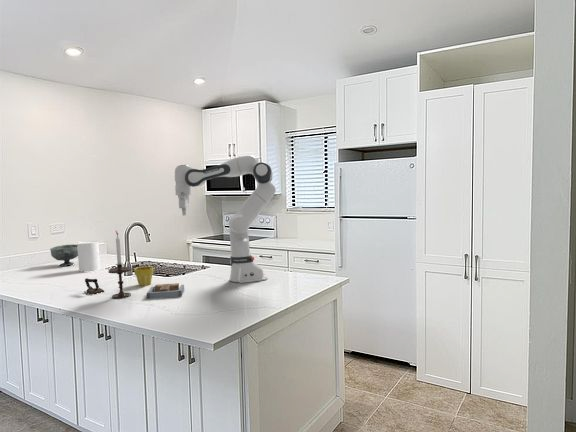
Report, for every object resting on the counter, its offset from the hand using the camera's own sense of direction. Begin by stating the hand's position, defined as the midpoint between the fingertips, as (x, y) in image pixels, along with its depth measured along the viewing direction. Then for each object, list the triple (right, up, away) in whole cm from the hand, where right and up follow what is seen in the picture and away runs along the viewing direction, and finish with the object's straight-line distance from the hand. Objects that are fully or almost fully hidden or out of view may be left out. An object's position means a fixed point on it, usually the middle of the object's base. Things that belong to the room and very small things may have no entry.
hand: (184, 215), depth 248 cm
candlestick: (-25, -43, -32) cm, 59 cm away
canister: (-79, -39, +46) cm, 99 cm away
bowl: (-107, -39, +69) cm, 133 cm away
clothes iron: (-45, -43, -21) cm, 65 cm away
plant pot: (-21, -41, -7) cm, 46 cm away
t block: (-2, -41, -31) cm, 52 cm away
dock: (-2, -41, -31) cm, 52 cm away
